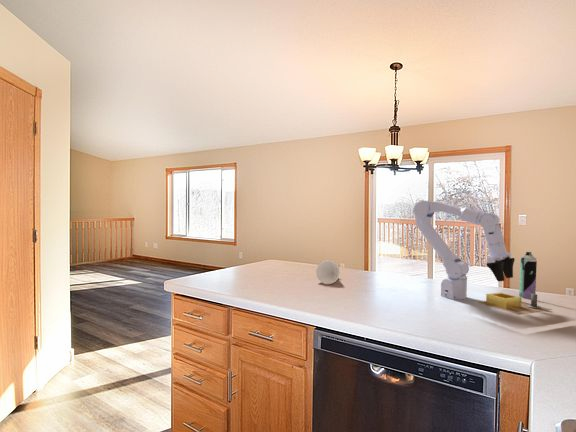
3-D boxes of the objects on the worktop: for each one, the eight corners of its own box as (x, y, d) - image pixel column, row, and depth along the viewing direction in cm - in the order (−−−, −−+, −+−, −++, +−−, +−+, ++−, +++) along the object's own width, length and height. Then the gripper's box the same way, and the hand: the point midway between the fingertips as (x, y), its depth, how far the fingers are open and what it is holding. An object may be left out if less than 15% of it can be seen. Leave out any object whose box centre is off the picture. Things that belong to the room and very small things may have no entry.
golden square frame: (506, 309, 124) (506, 299, 124) (486, 303, 132) (486, 294, 132) (521, 307, 127) (521, 297, 127) (500, 301, 135) (501, 292, 135)
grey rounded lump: (335, 258, 185) (327, 255, 169) (350, 273, 181) (344, 272, 164) (320, 273, 186) (311, 272, 170) (335, 289, 182) (327, 289, 165)
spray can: (530, 302, 138) (532, 253, 138) (516, 299, 143) (517, 251, 143) (538, 301, 141) (539, 252, 140) (523, 297, 146) (525, 250, 145)
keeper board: (518, 317, 118) (519, 300, 118) (477, 305, 133) (478, 289, 133) (552, 312, 125) (553, 296, 125) (509, 301, 140) (510, 286, 139)
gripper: (498, 244, 124) (508, 281, 122) (515, 240, 132) (524, 275, 130) (478, 247, 129) (488, 283, 127) (495, 243, 138) (505, 277, 136)
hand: (505, 279), depth 129 cm, fingers open, 7 cm apart
